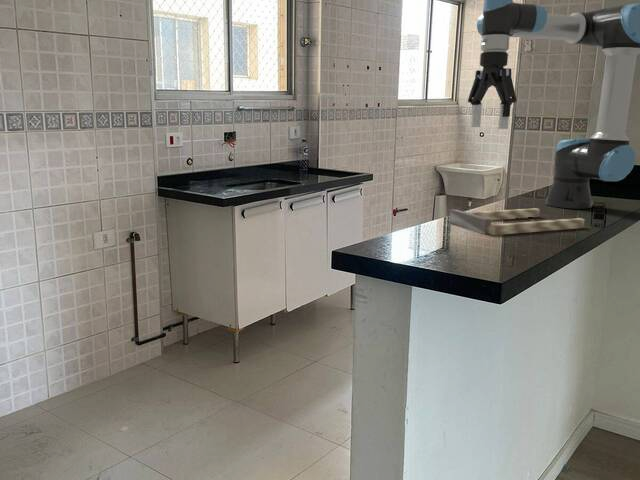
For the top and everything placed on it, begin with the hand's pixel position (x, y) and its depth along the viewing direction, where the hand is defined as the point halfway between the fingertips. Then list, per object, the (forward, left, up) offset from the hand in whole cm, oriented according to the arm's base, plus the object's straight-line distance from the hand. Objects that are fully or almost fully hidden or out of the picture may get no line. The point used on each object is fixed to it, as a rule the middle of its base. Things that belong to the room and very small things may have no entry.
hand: (488, 128), depth 175 cm
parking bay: (-6, +8, -27) cm, 29 cm away
